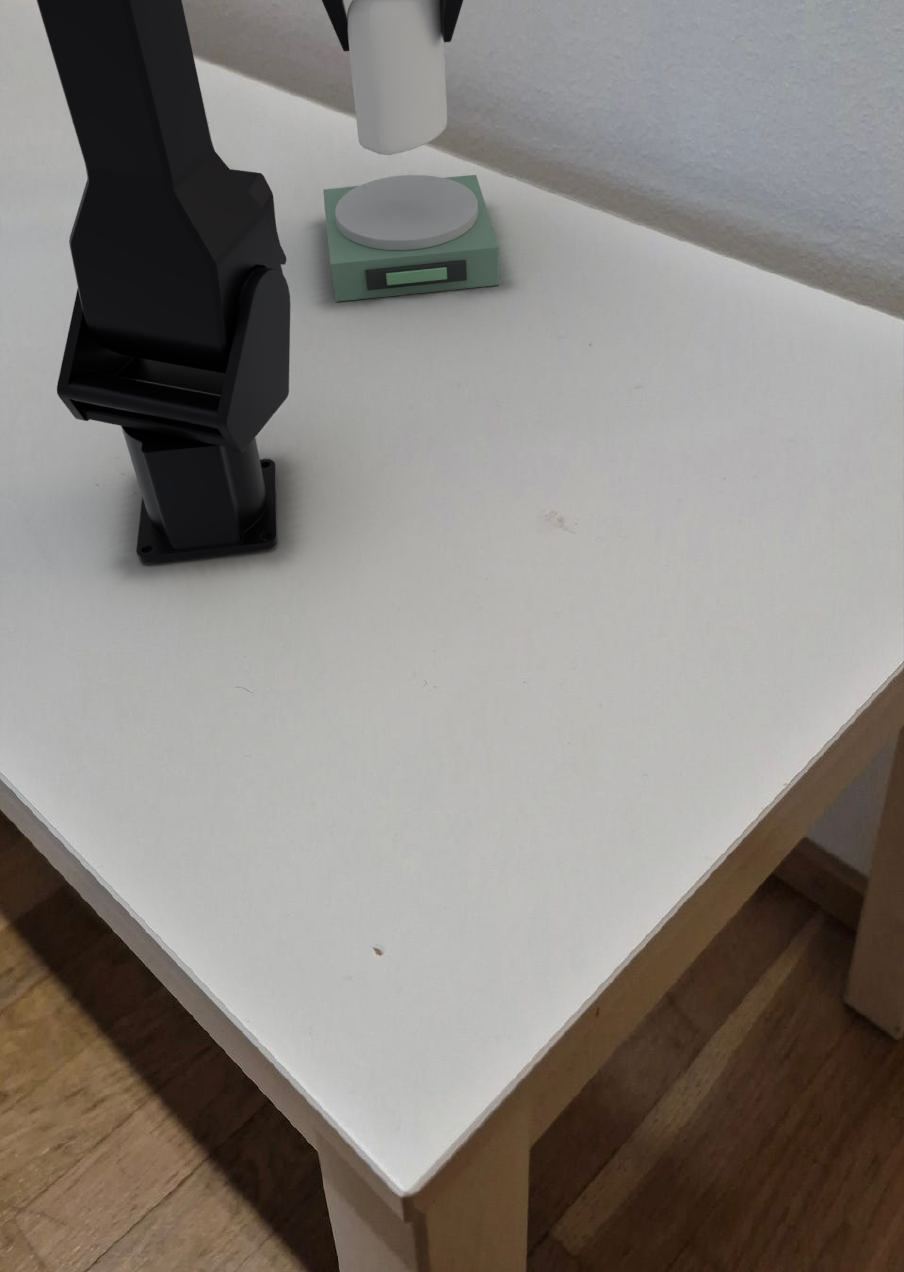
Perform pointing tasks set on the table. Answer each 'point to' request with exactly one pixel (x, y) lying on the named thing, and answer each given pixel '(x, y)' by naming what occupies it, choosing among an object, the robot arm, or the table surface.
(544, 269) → the table surface
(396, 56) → the eye dropper bottle
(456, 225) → the kitchen scale
